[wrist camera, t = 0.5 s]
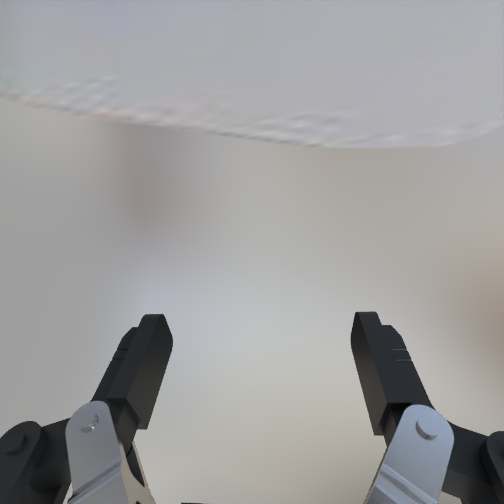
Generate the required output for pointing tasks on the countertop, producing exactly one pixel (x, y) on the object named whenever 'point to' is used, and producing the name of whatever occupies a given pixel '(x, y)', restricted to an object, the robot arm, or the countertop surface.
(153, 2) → the countertop surface
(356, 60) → the countertop surface
